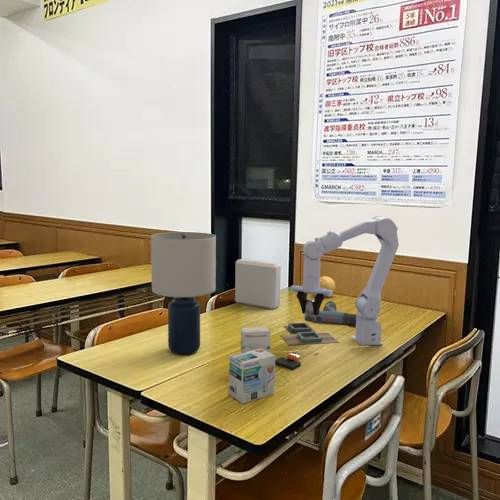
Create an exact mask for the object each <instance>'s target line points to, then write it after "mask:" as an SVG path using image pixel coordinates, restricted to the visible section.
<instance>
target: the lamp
mask: <svg viewBox="0 0 500 500" xmlns="http://www.w3.org/2000/svg"><path fill="white" fill-rule="evenodd" d="M216 240H217V235H216V234H213V233H207V232H199V231H197V232H196V231H195V232H194V231H171V232H160V233H153V234H151V235H150V251H151V252H150V253H151V255H150V257H151V261H150V263H151V292H152V293H153V294H155V295H157V296H162V297H167V298H168V297H169V298H173V299H172V301H170V302H169V303H168V305H167V332H168V333H167V335H168V337H167V339H168V340H167V343H168V350H169V351H170V352H171V353H172V354H174V355H180V356H187V355H192V354H195V353H196V352H198V351H199V350H200V347H201V304H200V302H199V301H198V300H195V299H196V297H202V296H203V297H204V296H208V295H210V294H213V293H214V292H216V289H217V288H216V286H217V285H216V282H217V281H216V280H217V279H216V278H217V277H216V275H217V273H216V269H217V267H216V266H217V259H216V256H217V251H216V250H217V249H216V247H217V245H216V244H217V241H216Z"/></svg>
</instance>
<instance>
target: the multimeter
mask: <svg viewBox="0 0 500 500" xmlns="http://www.w3.org/2000/svg"><path fill="white" fill-rule="evenodd" d="M318 354H319V352H317V353H315V354H313V355H312V357H315V356H316V355H318ZM300 358H301V356H300V354H299V353H298V352H294V351H293V352H292V353H288V354H287V357H284V356H280V357H278V358H275V366H277V367H281V368H283V369H287V370H290V371H294V370H296V369H298V368H300V367H301V364H302V362H300V361H299V360H300Z"/></svg>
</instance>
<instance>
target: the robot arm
mask: <svg viewBox="0 0 500 500" xmlns="http://www.w3.org/2000/svg"><path fill="white" fill-rule="evenodd" d="M398 229H399V228H398V227H397V225H396V223H395V222H394V221H393V220H392V219H391V218H388V217H386V218H385V217H383V216H379V215H378V216H374V217H371V218H368V219H365V220H362V221H361V222H359V223H357V224H355V225H353V226H351V227H349V228H347V229H345V230H343V231H341V232H336V231H334V230H333V231H331V230H330V231H327V232H326V234H325V235H323V236H322V235H321V236H320V237H315V238H314V240H308V241H306V242H305V243H304V245H303V247H302V249H301V250H302V253H303V255H304V258H303V272H302V273H303V274H302V275H303V277H302V285H291V286H290V293H297V294H296V299H297V300H298V303H299V305H300V308H301V309H300V310H301V314H303V315H305V300H306V299H308V295H310V294H311V295H314V298H313V299H314V300H315V315H316V316H317V315H318V314H319V311H320V309H321V306H322V303H323V301H324V300H325V298H326V297H325V296H328V297H330V298H331V297H332V296H333V293H332V290H328V289H323V288H320V277H321V258H322V256H323V254H324V255H325V254H328V253H330V252H332V251H334V250H336V249H338V248H340V247H342V245H343V243H344V242H346V241H348V240H350V239H351V240H352V239H354V238H357V237H358V236H361V235H364V234H368V235H374V236H375V237H376V238H377V240H378V241H379V243H380V245H381V247H380V249H379V252H378V255H377V257H376V259H375V262H374V265H373V268H372V270H371V273H370V275H369V278H368V281H367V284H366V286H365V288H363V289H362V290H361V292H360V294H359V295H358V296H357V298H356V299H355V301H354V306H355V308H356V309H357V311H356V313H355V314H356V325H355V334H354V335H350V337H351V338H352V339H354V340H355V341H356V342H357V343H359V344H360V345H361V346H363V347H367V346H369V345H372V346H379V345H380V346H381V345H383V344H384V343H383V341H381V340H382V339H381V338H382V326H381V323H380V322H379V320H378V316H379V314H380V313H381V302H382V295H381V293H382V290H383V288H384V285H385V282H386V279H387V277H388V274H389V272H390V270H391V266H392V264H393V261H394V259H395V256H396V253H397V250H398V247H399V246H400V245H399V238H398V237H399V236H398Z"/></svg>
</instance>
